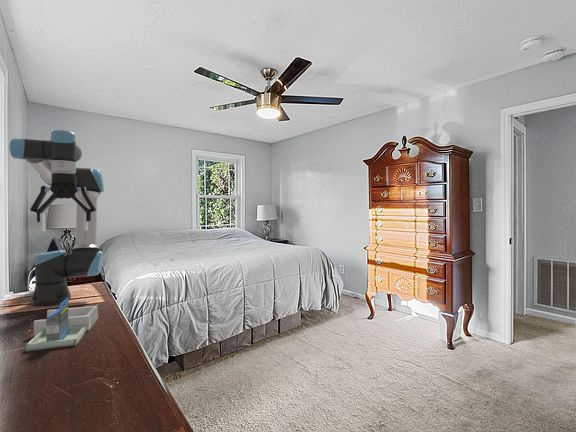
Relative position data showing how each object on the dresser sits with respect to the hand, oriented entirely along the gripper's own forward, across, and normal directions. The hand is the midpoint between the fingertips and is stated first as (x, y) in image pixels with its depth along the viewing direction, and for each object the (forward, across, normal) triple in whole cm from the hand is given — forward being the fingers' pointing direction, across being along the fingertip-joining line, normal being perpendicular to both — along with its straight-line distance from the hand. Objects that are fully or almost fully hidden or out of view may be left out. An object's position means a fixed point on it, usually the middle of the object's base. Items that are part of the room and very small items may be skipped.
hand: (64, 230), depth 121 cm
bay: (+35, +2, -4) cm, 35 cm away
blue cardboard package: (+34, +2, -17) cm, 38 cm away
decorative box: (+35, -22, +63) cm, 75 cm away
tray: (+35, +2, -17) cm, 39 cm away
